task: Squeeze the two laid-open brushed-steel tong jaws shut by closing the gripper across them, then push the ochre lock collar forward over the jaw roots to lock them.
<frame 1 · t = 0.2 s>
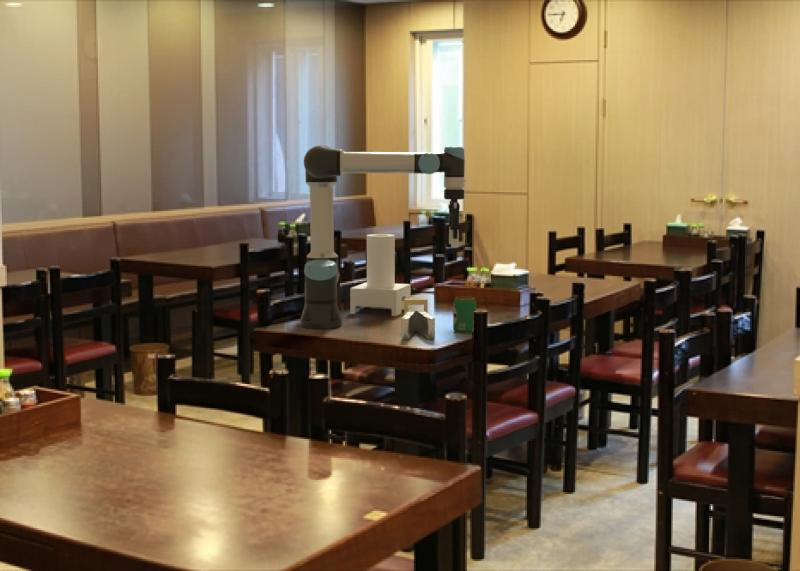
hand: (453, 245, 426), 28 cm above the table, fingers open, 13 cm apart
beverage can: (464, 332, 403), on the table
arm left: (408, 324, 394), point 4 cm above the table, hinge at 10.0°
arm right: (426, 324, 394), point 4 cm above the table, hinge at 10.0°
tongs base: (416, 330, 405), on the table
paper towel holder: (380, 311, 450), on the table
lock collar: (415, 313, 407), point 6 cm above the table, slide at 0.0 cm
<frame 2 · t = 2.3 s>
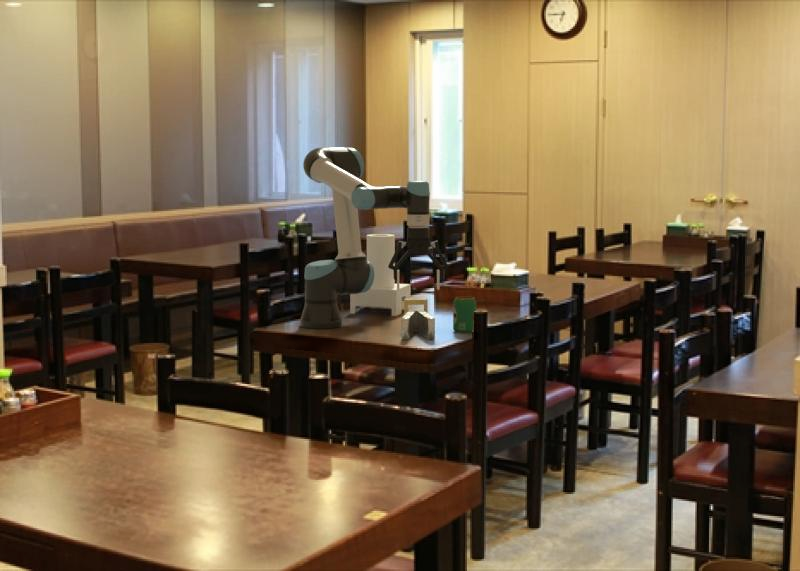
hand: (418, 289, 389), 17 cm above the table, fingers open, 13 cm apart
nothing on the table moved.
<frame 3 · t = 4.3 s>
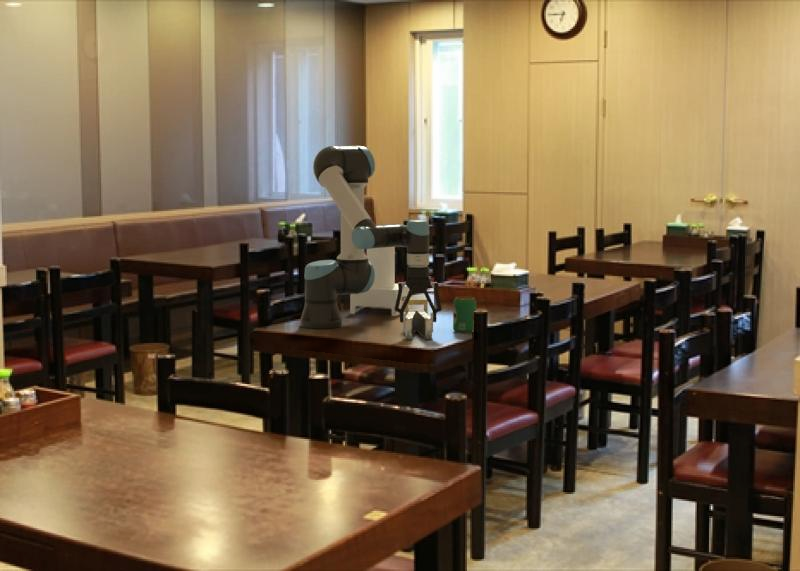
hand: (418, 331, 390), 2 cm above the table, fingers open, 9 cm apart
arm left: (410, 324, 394), point 4 cm above the table, hinge at 6.1°, touching gripper
arm right: (424, 324, 394), point 4 cm above the table, hinge at 6.9°, touching gripper
everything else where it was.
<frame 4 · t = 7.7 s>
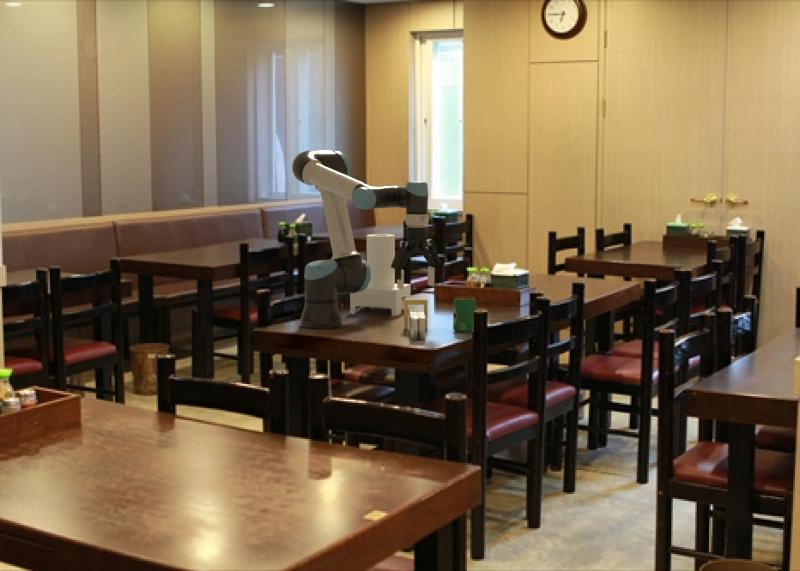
hand: (415, 287, 398), 16 cm above the table, fingers open, 13 cm apart
arm left: (413, 324, 394), point 4 cm above the table, hinge at -0.6°
arm right: (421, 324, 394), point 4 cm above the table, hinge at -0.1°
everything else where it was.
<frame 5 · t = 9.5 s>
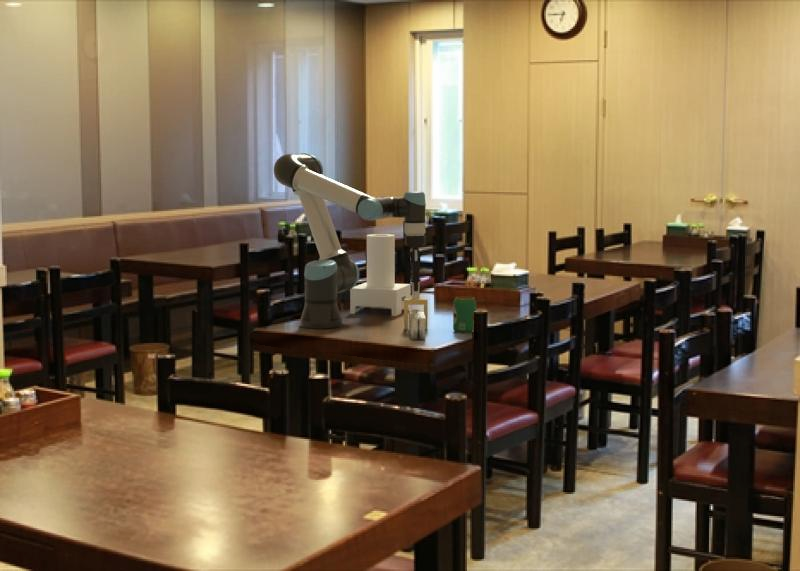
hand: (415, 299, 413), 10 cm above the table, fingers closed
nothing on the table moved.
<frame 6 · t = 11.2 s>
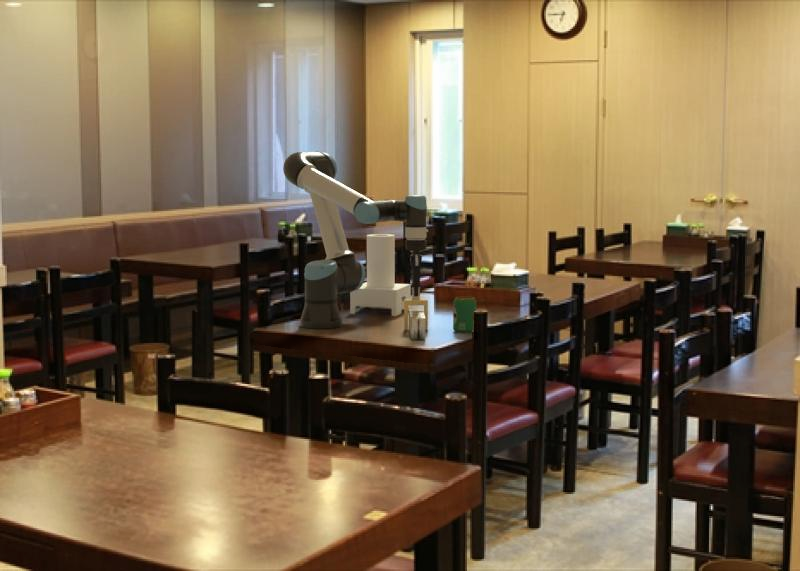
hand: (415, 305, 407), 9 cm above the table, fingers closed
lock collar: (415, 314, 405), point 6 cm above the table, slide at 1.7 cm, touching gripper
everything else where it was.
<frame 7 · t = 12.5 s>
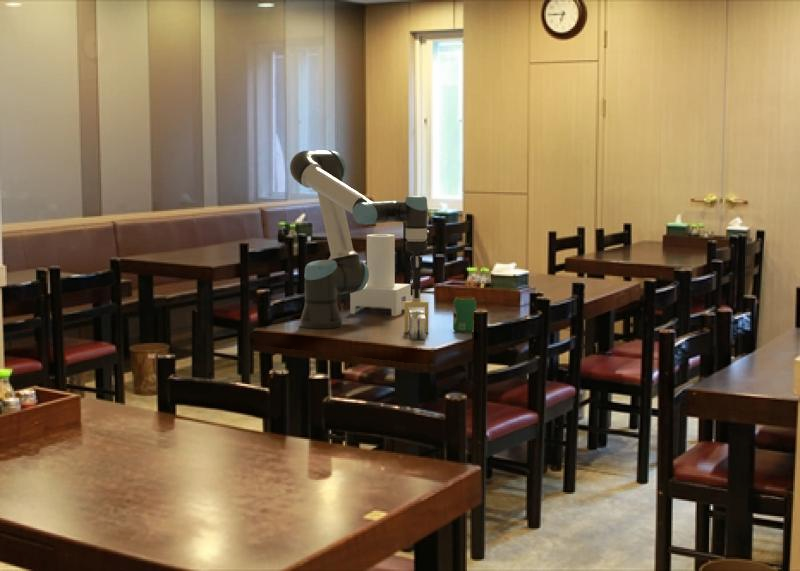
hand: (416, 307, 402), 9 cm above the table, fingers closed
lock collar: (416, 316, 401), point 6 cm above the table, slide at 6.2 cm, touching gripper
everything else where it was.
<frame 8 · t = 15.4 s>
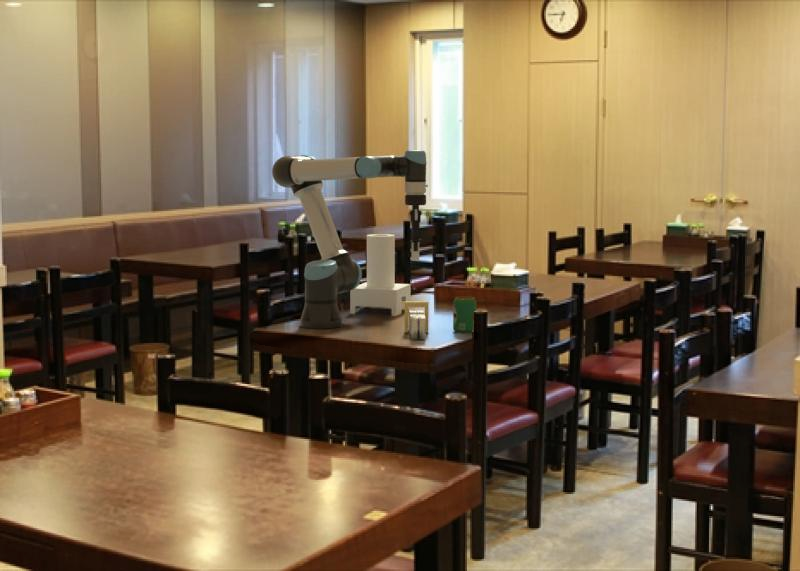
hand: (415, 260, 408), 24 cm above the table, fingers closed
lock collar: (416, 316, 401), point 6 cm above the table, slide at 6.2 cm
everything else where it was.
at the end: arm right at +0° (first picture: +10°); arm left at -1° (first picture: +10°); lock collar slide at 6.2 cm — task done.
